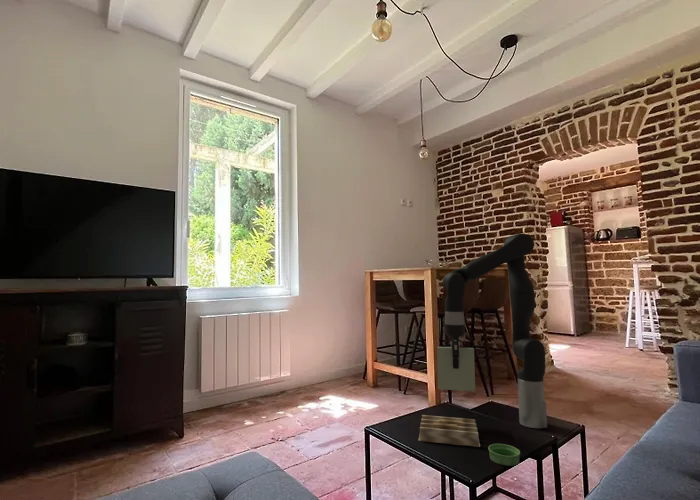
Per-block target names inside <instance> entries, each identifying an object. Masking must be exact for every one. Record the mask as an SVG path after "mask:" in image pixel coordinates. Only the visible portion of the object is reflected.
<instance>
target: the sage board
mask: <svg viewBox="0 0 700 500" xmlns="http://www.w3.org/2000/svg"><path fill="white" fill-rule="evenodd" d="M454 355H458V353H454ZM436 360H437V362H436V363H437V364H436V365H437V369H436V370H437V390H446V391H447V390H449V391H459V392H460V391H463V392H476V372H475V369H476V368H475V367H476V366H475V364H476V363H475V348H474V347H460V353H459V368H458V369H454V368H453V358H452V352H451V346H436Z"/></svg>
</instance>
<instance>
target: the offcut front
mask: <svg viewBox="0 0 700 500" xmlns="http://www.w3.org/2000/svg"><path fill="white" fill-rule="evenodd" d="M433 428H438V429H448V430H458V426H457V424H446V423H434V422H433Z"/></svg>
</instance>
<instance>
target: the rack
mask: <svg viewBox="0 0 700 500" xmlns="http://www.w3.org/2000/svg"><path fill="white" fill-rule="evenodd" d="M440 419H447V420H458V421H463V426H458V430H448V429H438V428H433V422H434V423H440V422H439V420H440ZM417 440H418V442H419V441H420V442H428V443H429V442H430V443H437V444H438V443H440V444H447V445H448V444H449V445H456V446H466V447H467V446H469V447H479V448H480V447H481V444H480V439H479V432H478V427H477V423H476V419H473V418H464V417H453V416H451V417H449V416H438V415H428V414H427V415H426V414H421V421H420V426H419V435H418V439H417Z"/></svg>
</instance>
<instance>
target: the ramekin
mask: <svg viewBox="0 0 700 500" xmlns="http://www.w3.org/2000/svg"><path fill="white" fill-rule="evenodd" d="M488 453H489V459H490V460H491V461H492V462H494V463H496V464H498V465H501V466H502V465H503V466H507V467H511V466H517V465H518V464H519V463H520V456H521V451H520V449H518V448H516V447H515V446H513V445H509V444H505V443H493V444H490V445H488Z"/></svg>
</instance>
